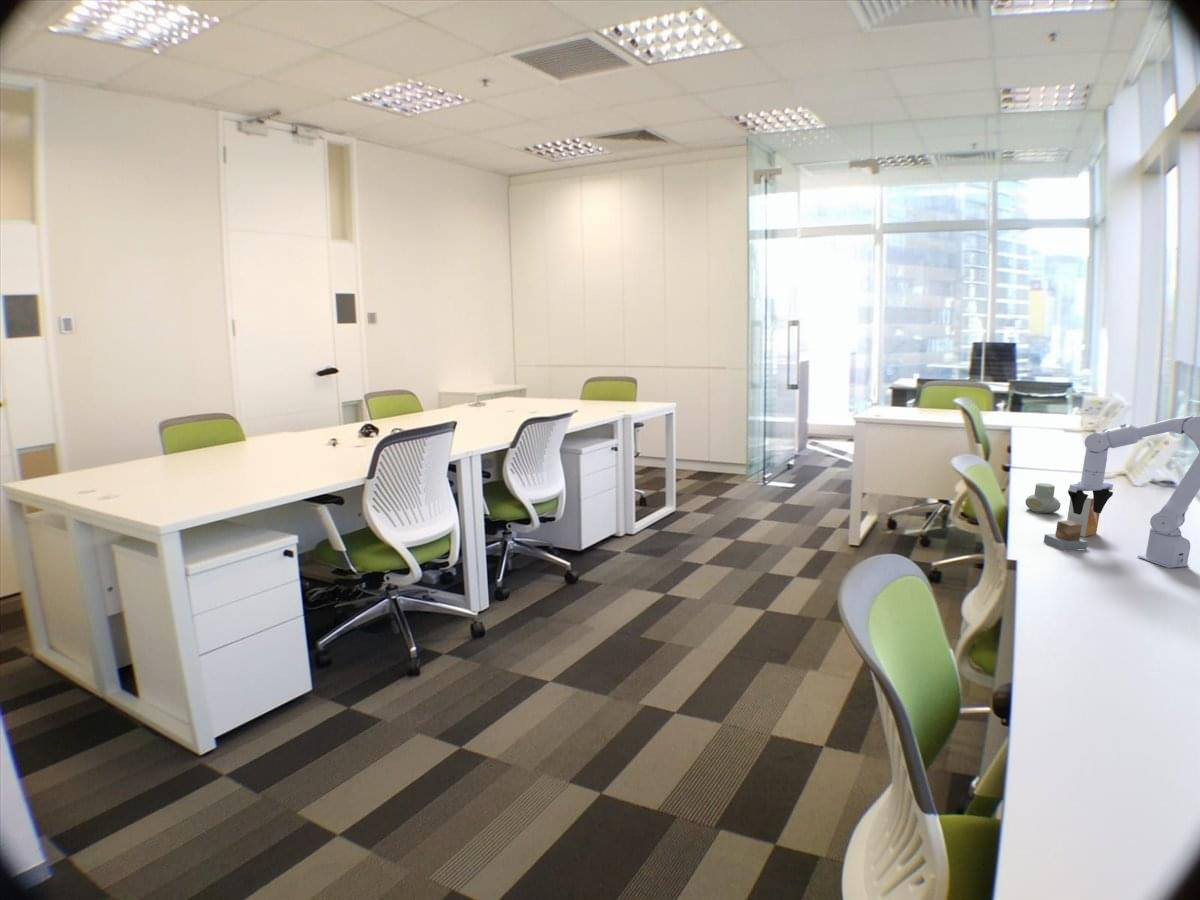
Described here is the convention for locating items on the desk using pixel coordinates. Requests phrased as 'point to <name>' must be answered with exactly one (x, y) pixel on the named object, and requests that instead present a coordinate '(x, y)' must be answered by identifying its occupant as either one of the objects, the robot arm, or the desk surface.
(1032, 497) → the air freshener
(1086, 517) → the small box
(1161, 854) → the desk surface
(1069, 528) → the walnut block
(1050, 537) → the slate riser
